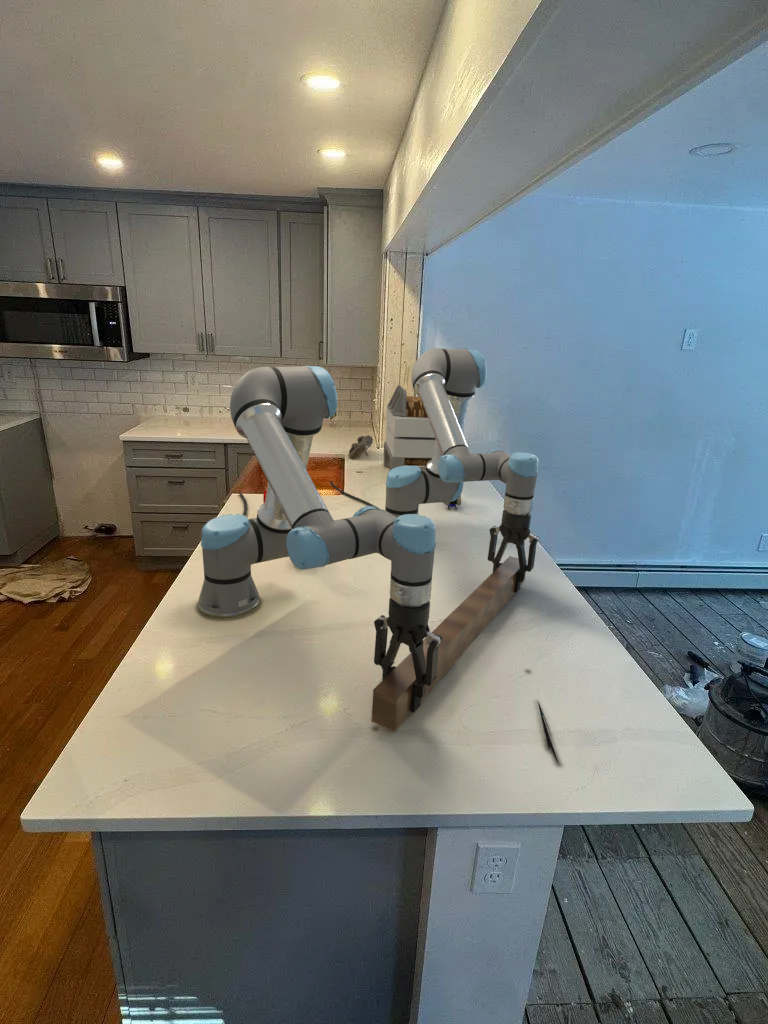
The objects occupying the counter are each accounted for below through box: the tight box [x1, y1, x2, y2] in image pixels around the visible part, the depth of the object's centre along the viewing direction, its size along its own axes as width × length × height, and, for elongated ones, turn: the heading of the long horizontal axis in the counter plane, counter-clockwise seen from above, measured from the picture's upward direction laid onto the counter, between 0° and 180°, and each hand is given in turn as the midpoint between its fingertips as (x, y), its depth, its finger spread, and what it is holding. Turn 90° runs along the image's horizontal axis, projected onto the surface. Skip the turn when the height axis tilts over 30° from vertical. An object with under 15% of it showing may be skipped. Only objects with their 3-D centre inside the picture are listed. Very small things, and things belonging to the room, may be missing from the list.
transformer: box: [383, 384, 465, 471], centre depth 268 cm, size 34×33×41 cm
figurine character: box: [444, 494, 462, 510], centre depth 230 cm, size 7×8×15 cm
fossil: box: [348, 435, 374, 460], centre depth 302 cm, size 22×10×15 cm
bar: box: [371, 555, 528, 733], centre depth 135 cm, size 74×5×7 cm, turn 149°
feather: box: [527, 669, 559, 763], centre depth 113 cm, size 2×28×2 cm
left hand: (402, 702), depth 112 cm, fingers open, 5 cm apart
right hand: (506, 587), depth 160 cm, fingers open, 5 cm apart
